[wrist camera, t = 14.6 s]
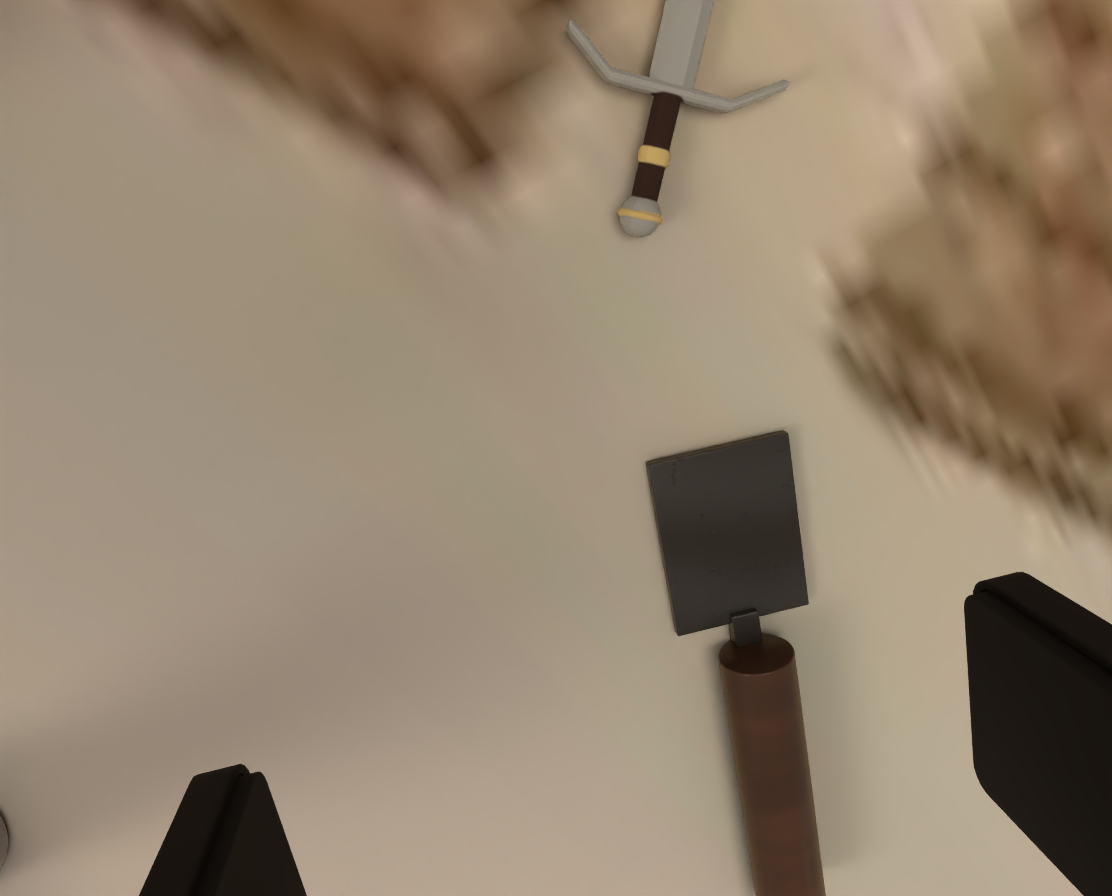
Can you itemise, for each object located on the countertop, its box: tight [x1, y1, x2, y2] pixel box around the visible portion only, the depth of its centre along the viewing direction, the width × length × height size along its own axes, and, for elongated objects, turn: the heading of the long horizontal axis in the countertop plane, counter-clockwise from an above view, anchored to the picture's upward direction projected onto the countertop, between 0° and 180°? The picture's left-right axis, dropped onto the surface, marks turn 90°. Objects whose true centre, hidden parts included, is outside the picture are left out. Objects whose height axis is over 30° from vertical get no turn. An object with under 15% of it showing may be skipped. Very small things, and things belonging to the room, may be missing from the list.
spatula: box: [646, 431, 826, 896], centre depth 36 cm, size 23×6×3 cm, turn 11°
